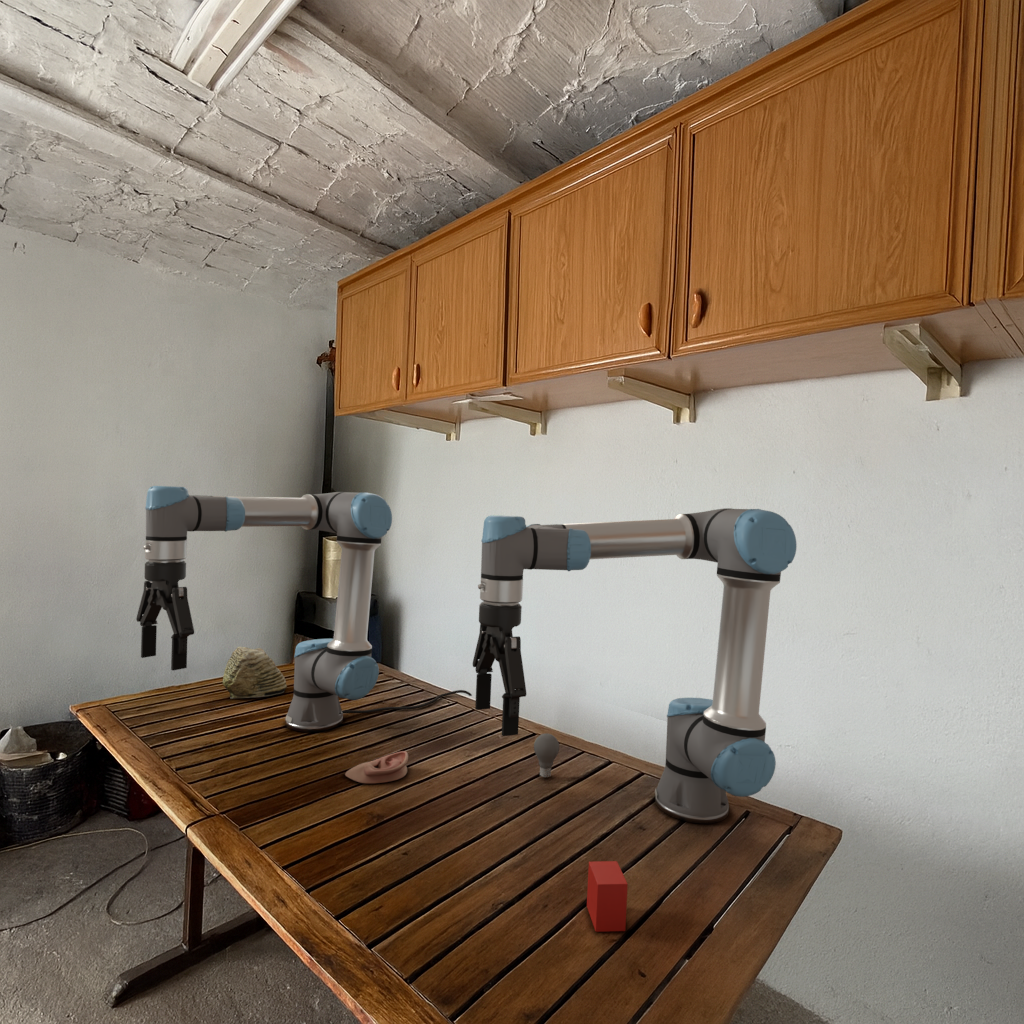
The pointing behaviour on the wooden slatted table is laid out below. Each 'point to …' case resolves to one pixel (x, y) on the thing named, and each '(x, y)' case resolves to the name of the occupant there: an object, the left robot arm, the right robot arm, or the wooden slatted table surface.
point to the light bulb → (546, 752)
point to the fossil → (252, 674)
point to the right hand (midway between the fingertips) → (495, 721)
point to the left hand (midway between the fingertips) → (163, 662)
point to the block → (607, 896)
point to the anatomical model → (380, 769)
